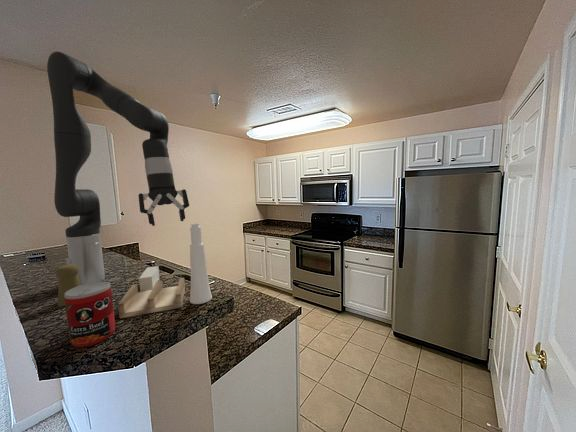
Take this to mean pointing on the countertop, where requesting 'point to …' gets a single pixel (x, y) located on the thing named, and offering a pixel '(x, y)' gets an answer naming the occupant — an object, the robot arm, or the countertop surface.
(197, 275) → the cosmetic bottle
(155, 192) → the robot arm
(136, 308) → the rack
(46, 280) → the countertop surface
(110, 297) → the canned food
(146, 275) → the white angular block
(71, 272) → the cork
